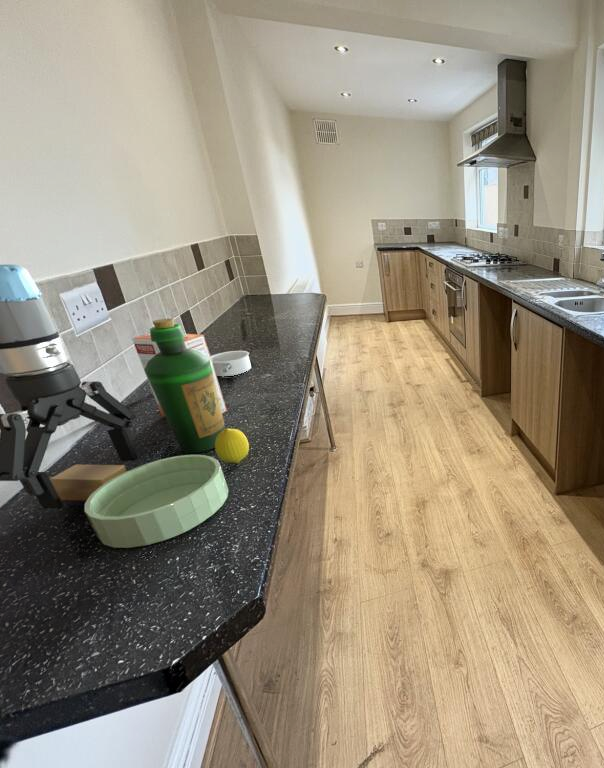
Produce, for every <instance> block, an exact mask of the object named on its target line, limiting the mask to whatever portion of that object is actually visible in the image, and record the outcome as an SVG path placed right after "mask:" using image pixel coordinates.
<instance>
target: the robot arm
mask: <svg viewBox="0 0 604 768" xmlns="http://www.w3.org/2000/svg"><path fill="white" fill-rule="evenodd" d="M42 295H43V294H42V291H41V290H40V289H39V287H38V286H37V285H36V282H35V281H34V279H33V277H32V276H31V274H30V272H29V271H28V269H26V268H25V267H23V266H21V265H18V264H0V374H3V375H5V376H4V378H3V381H4V383H5V385H6V387H7V388H8V391H9V392H10V394H11V396H12V398H13V399H15V400H16V401H17V402H18V403H19V405H20V409H19V410H18V411H14V412H10V413H0V482H20V484H21V485H22V487H23V488H24V490H25V492H26V495H27V494H28V495H29V496H34V497H36V499H37V501H38V503H39V504H40V506H41V507H42V509H43V510H60V509H61V508H64V506H65V504H64V502H63V500H61V499H60V497H59V495H58V493H57V492H56V490H55V488H54V486H53V484H52V483H51V481H50V479H51V478H50V477H49V476H48V474H47V472H46V471H40V469H41V466H42V462H43V460H44V458H45V454H46V451H47V448H48V445H49V443H50V439H51V437H52V434H54V433H56V431H57V428H58V427H60V426H61V427H62V426H63V425H66V424H67V423H68V422H70V421H72V420H77V419H79V418H80V417H83V418H87V419H89V420H92V421H94V422H96V423H99V424H101V425H104V426H106V427H109V428H110V429H108V430H107V433H108V436H109V438H110V441H111V443H112V444H113V447H114V449H115V451H116V454H117V455H118V457H119V460H120V461H121V462H136V461H137V460H138V459H139V458H138V455H137V453H136V451H135V448H134V446H133V444H132V442H133V441H134V440H133V436H132V434H131V432H130V429H129V428H132V427H133V422H132V421H134V420H135V419H136V417H137V416H136V414H135V413H134V412H133V411H132V410H130V409H129V408H128V407H126V406H125V405H123V403H121V402H120V401H119V400H118V399H116V398H115V397H114V396H113V395H112V394H110V392H108V391H107V389H106V388H105V387H104V385H103V383H102V382H101V381H98V380H97V381H83V382H82V381H81V379H80V376H79V374H78V372H77V369H76V368H75V366H74V364H72V363H70V362H69V361H70V359H71V358H70V355H69V353H68V351H67V349H66V347H65V345H64V343H63V340H62V339H61V336H60V334H59V332H58V330H57V328H56V324H54V321H53V318H52V316H51V315H50V313H49V309H48V308H47V306H46V303H45V301H44V298H43V296H42ZM87 397H89V398H90V400H92V401H93V402H95V403H96V404H97V405H98V406H100V407H102V409H104V410H105V411H104V410H101V409H98V408H97V406H94V405H92V404H90V403H87V402H86V398H87ZM106 411H107V412H106ZM27 419H28V420H27ZM26 425H27V426H26Z"/></svg>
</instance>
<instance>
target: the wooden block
mask: <svg viewBox="0 0 604 768" xmlns="http://www.w3.org/2000/svg"><path fill="white" fill-rule="evenodd" d="M127 471H128V470H127V468H126V466H125V465H124V464H74V465H72V466H70V467H69V468H67V469H64V470H63V471H61V472H60V473H57V474H56V475H54V476H52V477H51V478H49V479H50V481H51V483H52V484H53V486H54V488H55V490H56V492H57V493H58V495H59V497H60V499H61V501H65V502H66V505H67V506H68V507H84V506H85V502H86V501H87V499H88V498H89V496H90V495H91V494H92V493H93V492H94V491H96V490H97V489H98V488H99V487H100V486H102V485H103V484H105V483H106V482H108V481H110V480H111V479H113V478H115V477H117V476H119V475H121V474H123V473H125V472H127Z"/></svg>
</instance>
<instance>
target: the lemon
mask: <svg viewBox="0 0 604 768" xmlns="http://www.w3.org/2000/svg"><path fill="white" fill-rule="evenodd" d="M225 428H226V427H225ZM214 449H215V452H216V455H217V456H218V458H219V459H220V460H222V461H223V462H225V463H231V464H239V463H240V462H241V461H242V460H244V459H245V458H246V457H247V456H248V454H249V451H250V443H249V440H248V438H247V437H246V435H245V433H244V432H242V430H240V429H237V428H229V427H227V428H226V429H225V430H224V431H222V432H221V433H219V434H218V436H217V437H216V440H215V448H214Z"/></svg>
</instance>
